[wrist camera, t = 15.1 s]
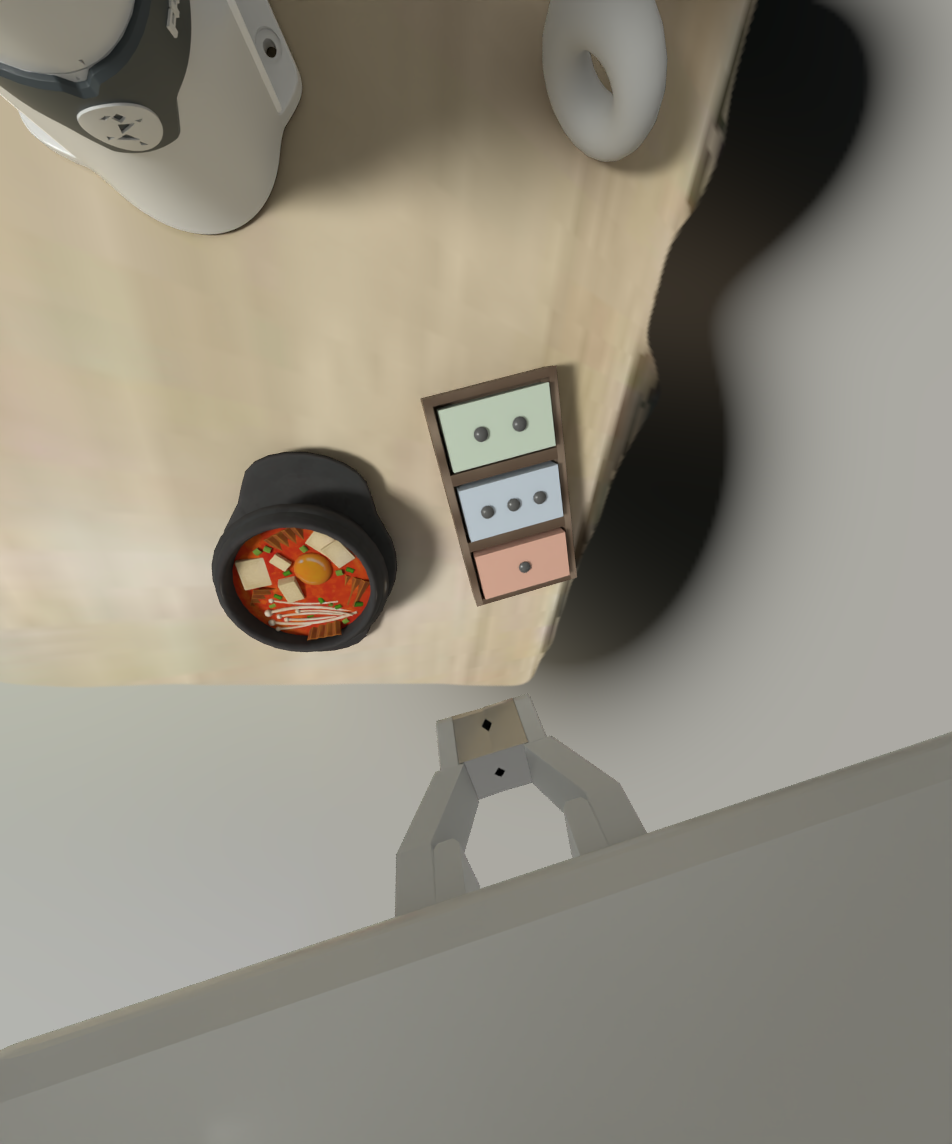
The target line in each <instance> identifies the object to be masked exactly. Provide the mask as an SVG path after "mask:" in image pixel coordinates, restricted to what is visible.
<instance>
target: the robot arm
mask: <svg viewBox="0 0 952 1144" xmlns="http://www.w3.org/2000/svg"><path fill="white" fill-rule="evenodd" d="M268 47H274V48H275V49H276V50H277V53H276V56H275V57H273V58H270V57H269V56H267V55H266V50H267V48H268ZM301 94H302V81H301V76H300V73H299V70H298V68H297V66H296V63H295V61H294V59H293V57H292V54H291V52H290V50H289V47H288V45H287V43H286V41H285V38H284V36H283V34H282V31H281V29H280V27H279V25H278V22H277V20H276V18H275V15H274V13H273V11H272V9H271V6H270V4H269V2H268V0H0V95H1V96H2V97H3V98H5V99H6V100H7V101H8V102H9V103H10V104H12V105H13V106H14V107H15V108H16V109H18V111H19V114H20V116H21V118H22V120H23V122H24V124H25V125H26V127H27V128H28V130H29V131H30V132H31V133H32V134H33V135H34V136H35V137H36V138H37V139H39V140H40V141H41V142H42V143H43V144H45V145H46V146H47V147H48V148H50V149H51V150H53V151H54V152H56V153H57V154H59V155H61V156H63V157H65V158H67V159H69V160H71V161H73V162H75V163H77V164H80V165H82V166H84V167H86V168H89V169H91V170H92V171H94V172H95V173H96V174H98V175H99V176H100V177H101V178H103V179H104V180H105V181H106V182H107V183H108V184H110V185H111V186H112V187H113V188H114V189H115V190H116V191H117V192H118V193H120V194H121V195H122V196H123V197H124V198H125V199H127V200H128V201H129V202H130V203H131V204H133V205H134V206H135V207H137V208H138V209H140V210H141V211H143V212H144V213H146V214H147V215H149V216H151V217H152V218H154V219H156V220H158V221H160V222H162V223H164V224H166V225H168V226H171V227H173V228H176V229H179V230H182V231H186V232H191V233H196V234H219V233H224V232H228V231H231V230H234V229H236V228H238V227H240V226H242V225H244V224H245V223H247V222H248V221H249V220H251V219H252V218H253V217H254V216H255V215H256V214H257V213H258V212H259V211H260V209H261V208H262V207H263V205H264V204H265V202H266V201H267V199H268V197H269V195H270V193H271V190H272V188H273V185H274V182H275V179H276V175H277V171H278V165H279V157H280V148H281V140H282V135H283V131H284V128H285V126H286V125H287V123H288V121H289V120H290V118H291V116H292V115H293V113H294V111H295V109H296V107H297V105H298V103H299V100H300V98H301ZM436 733H437V743H438V752H439V763H440V771H437V772H435V774H434V776H433V778H432V780H431V782H430V785H429V787H428V789H427V791H426V793H425V796H424V797H423V799H422V801H421V804H420V806H419V808H418V810H417V812H416V814H415V816H414V818H413V820H412V823H411V825H410V827H409V829H408V831H407V833H406V835H405V837H404V839H403V842H402V844H401V846H400V848H399V850H398V852H397V854H396V897H395V917H394V918H391V919H389V920H385V921H382V922H379V923H377V924H373V925H370V926H367V927H364V928H361V929H358V930H355V931H352V932H349V933H346V934H343V935H340V936H337V937H334V938H332V939H328V940H326V941H322V942H319V943H316V944H313V945H310V946H307V947H304V948H301V949H298V950H295V951H292V952H289V953H286V954H283V955H280V956H278V957H274V958H271V959H268V960H265V961H262V962H259V963H256V964H253V965H250V966H247V967H244V968H241V969H239V970H236V971H232V972H229V973H226V974H223V975H220V976H217V977H214V978H212V979H208V980H206V981H203V982H200V983H196V984H193V985H190V986H187V987H184V988H181V989H178V990H175V991H172V992H169V993H166V994H163V995H160V996H157V997H154V998H151V999H148V1000H145V1001H142V1002H139V1003H136V1004H133V1005H130V1006H127V1007H124V1008H121V1009H118V1010H115V1011H112V1012H109V1013H106V1014H103V1015H100V1016H97V1017H94V1018H91V1019H88V1020H85V1021H82V1022H79V1023H76V1024H73V1025H70V1026H67V1027H64V1028H61V1029H58V1030H55V1031H52V1032H49V1033H46V1034H42V1035H40V1036H36V1037H33V1038H30V1039H27V1040H24V1041H21V1042H19V1043H16V1044H13V1045H10V1046H8V1047H6V1048H4V1049H2V1050H0V1144H952V732H950V733H947V734H944V735H941V736H938V737H935V738H932V739H929V740H926V741H923V742H920V743H917V744H914V745H911V746H908V747H905V748H902V749H899V750H896V751H893V752H890V753H887V754H884V755H881V756H878V757H875V758H872V759H869V760H866V761H863V762H860V763H857V764H854V765H851V766H848V767H845V768H842V769H839V770H836V771H833V772H830V773H827V774H824V775H821V776H818V777H815V778H812V779H809V780H806V781H803V782H800V783H797V784H794V785H791V786H788V787H785V788H782V789H779V790H776V791H773V792H770V793H767V794H764V795H761V796H758V797H755V798H752V799H749V800H746V801H743V802H740V803H737V804H734V805H731V806H728V807H725V808H722V809H719V810H716V811H713V812H710V813H707V814H704V815H701V816H698V817H695V818H692V819H689V820H686V821H683V822H680V823H677V824H674V825H671V826H668V827H665V828H662V829H659V830H656V831H653V832H650V833H647V832H646V830H645V829H644V827H643V825H642V823H641V821H640V819H639V818H638V816H637V814H636V812H635V810H634V808H633V806H632V805H631V803H630V801H629V799H628V797H627V795H626V794H625V792H624V790H623V788H622V786H621V785H620V783H619V782H617V781H616V780H615V779H613V778H612V777H610V776H609V775H607V774H606V773H604V772H603V771H602V770H600V769H599V768H597V767H596V766H594V765H593V764H591V763H590V762H589V761H587V760H585V759H584V758H583V757H582V756H580V755H578V754H577V753H576V752H574V751H573V750H571V749H570V748H568V747H567V746H566V745H564V744H563V743H561V742H560V741H559V740H557V739H556V738H554V737H553V736H549V737H547V736H546V734H545V731H544V729H543V726H542V724H541V721H540V719H539V717H538V714H537V712H536V709H535V707H534V704H533V702H532V700H531V697H530V696H529V694H524V695H522V696H518V697H515V698H511V699H507V700H504V701H501V702H498V703H495V704H492V705H489V706H485V707H483V708H481V709H477V710H474V711H470V712H466V713H463V714H459V715H455V716H452V717H449V718H445V719H442V720H438V721H437V722H436ZM529 783H533V784H534V785H535V786H536V787H537V788H538V789H539V790H540V791H542V793H543V794H544V795H546V796H547V797H548V798H549V799H550V800H551V801H552V802H553V803H554V804H555V805H556V806H557V807H558V808H559V809H560V810H561V811H562V812H563V813H564V815H565V821H566V827H567V832H568V837H569V843H570V849H571V854H572V857H573V858H572V859H568V860H565V861H563V862H560V863H557V864H553V865H550V866H547V867H544V868H541V869H538V870H535V871H533V872H530V873H526V874H524V875H520V876H518V877H514V878H511V879H509V880H506V881H502V882H499V883H496V884H493V885H491V886H487V887H484V888H482V889H480V885H479V883H478V881H477V879H476V877H475V874H474V872H473V871H472V868H471V866H470V864H469V862H468V860H467V858H466V856H465V854H464V852H465V849H466V845H467V841H468V838H469V834H470V831H471V828H472V824H473V821H474V817H475V814H476V810H477V807H478V803H479V801H478V800H479V799H482V798H485V797H488V796H491V795H494V794H496V793H499V792H502V791H505V790H508V789H512V788H515V787H519V786H522V785H526V784H529Z"/></svg>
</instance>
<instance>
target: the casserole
mask: <svg viewBox="0 0 952 1144" xmlns="http://www.w3.org/2000/svg"><path fill="white" fill-rule="evenodd" d="M396 571H397V561H396V553H395V549H394V546H393V542H392V540H391V538H390V536H389V534H388V532H387V530H386V529H385V527H384V525H383V523H382V521H381V520H380V518H379V516H378V514H377V512H376V509H375V506H374V502H373V499H372V496H371V493H370V491H369V488H368V485H367V482H366V481H365V480H364V479H363V478H362V476H361V475H360V474H359V473H358V472H357V471H356V470H354V469H353V468H351V467H350V466H348V465H346V464H345V463H343V462H340V461H338V460H335V459H333V458H330V457H327V456H324V455H319V454H314V453H308V452H283V453H278V454H273V455H268V456H266V457H263V458H261V459H259V460H257V461H255V462H254V463H253V464H252V465H251V466H250V467H249V468H248V469H247V470H246V471H245V474H244V478H243V482H242V486H241V490H240V496H239V501H238V504H237V506H236V508H235V510H234V512H233V514H232V516H231V518H230V520H229V522H228V524H227V526H226V528H225V530H224V534H223V535H222V536H221V537H220V540H219V542H218V544H217V546H216V548H215V550H214V555H213V560H212V576H213V582H214V585H215V588H216V593H217V596H218V599H219V602H220V604H221V606H222V608H223V609H224V611H225V613H226V614H227V616H228V617H229V618H230V619H231V620H232V621H233V622H234V624H235V625H236V626H237V627H238V628H240V629H241V630H242V631H244V632H245V633H246V634H247V635H249V636H250V637H252V638H254V639H256V640H258V641H260V642H262V643H264V644H267V645H269V646H272V647H275V648H278V649H283V650H288V651H296V652H313V651H332V650H338V649H342V648H347V647H350V646H352V645H354V644H357V643H359V642H360V641H361V640H362V639H363V638H364V637H366V635H367V633H368V631H369V628H370V626H371V624H372V623H374V622H375V620H376V619H377V617H378V616H379V614H380V613H381V612H382V610H383V607H384V605H385V602H386V600H387V597H388V596H389V594H390V592H391V590H392V587H393V585H394V582H395V578H396Z"/></svg>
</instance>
